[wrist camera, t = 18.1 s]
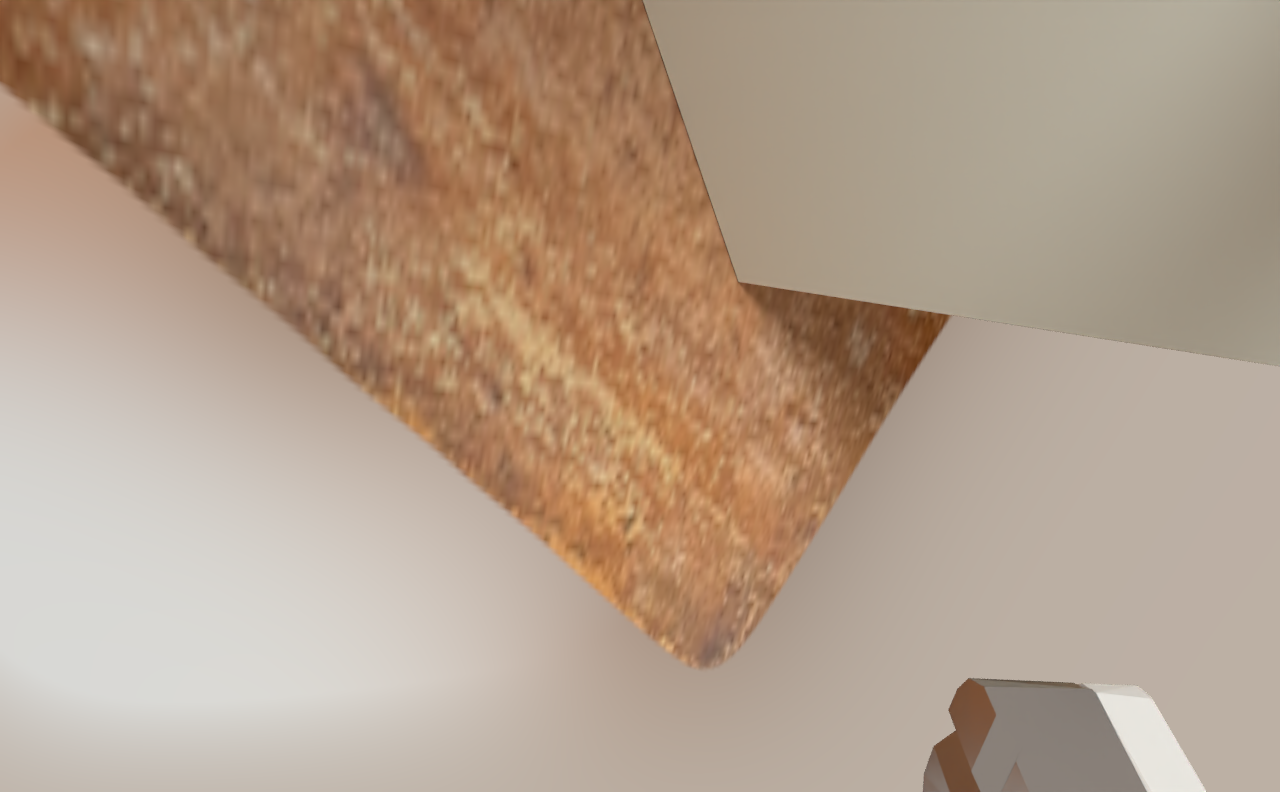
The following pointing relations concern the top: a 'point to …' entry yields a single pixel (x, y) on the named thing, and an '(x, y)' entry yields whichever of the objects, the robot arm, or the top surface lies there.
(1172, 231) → the stand
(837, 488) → the top surface
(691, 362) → the top surface
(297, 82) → the top surface
